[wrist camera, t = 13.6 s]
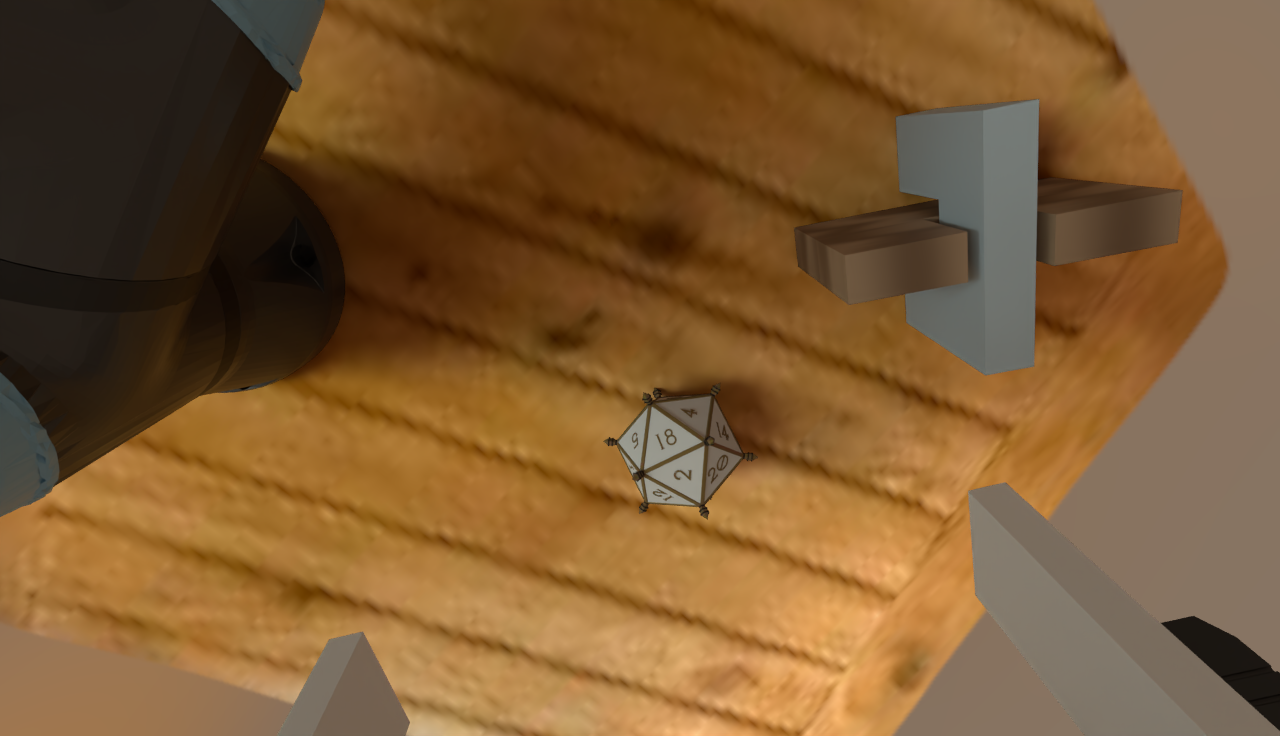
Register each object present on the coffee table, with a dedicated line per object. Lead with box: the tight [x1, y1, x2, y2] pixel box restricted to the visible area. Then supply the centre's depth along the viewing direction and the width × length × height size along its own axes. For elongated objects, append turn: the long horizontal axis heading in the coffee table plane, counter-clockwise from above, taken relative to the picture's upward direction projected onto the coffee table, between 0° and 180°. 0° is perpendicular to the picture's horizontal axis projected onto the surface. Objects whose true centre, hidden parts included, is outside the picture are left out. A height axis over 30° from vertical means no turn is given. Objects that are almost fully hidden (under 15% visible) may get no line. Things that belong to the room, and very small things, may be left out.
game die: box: [603, 383, 758, 520], centre depth 41 cm, size 9×8×10 cm
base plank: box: [794, 178, 1183, 305], centre depth 36 cm, size 16×2×10 cm, turn 101°
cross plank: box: [896, 99, 1039, 375], centre depth 36 cm, size 2×13×10 cm, turn 11°
